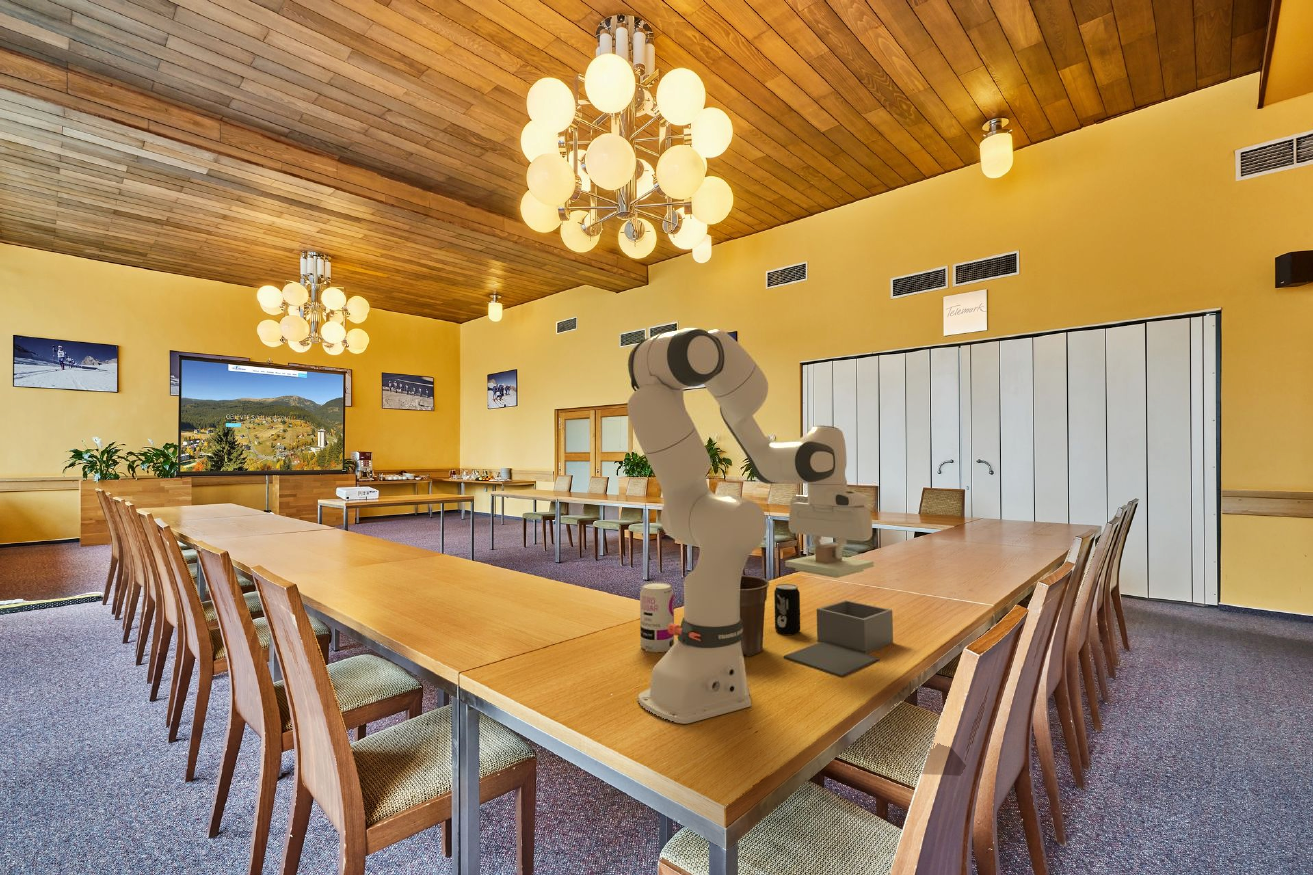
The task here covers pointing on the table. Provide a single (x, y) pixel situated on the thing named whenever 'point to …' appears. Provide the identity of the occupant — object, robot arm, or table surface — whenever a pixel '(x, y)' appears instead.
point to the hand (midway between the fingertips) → (828, 556)
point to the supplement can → (656, 617)
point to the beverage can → (787, 609)
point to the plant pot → (752, 613)
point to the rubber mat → (831, 659)
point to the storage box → (855, 626)
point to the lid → (828, 563)
